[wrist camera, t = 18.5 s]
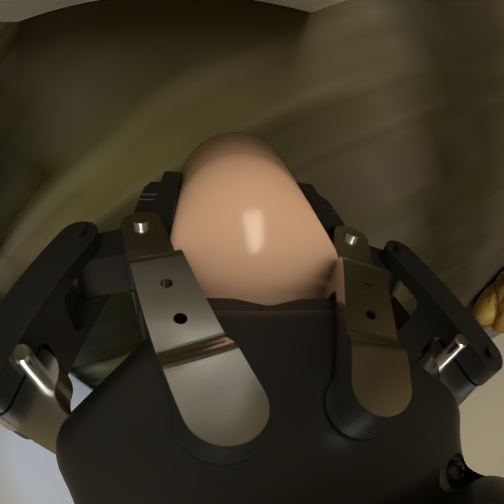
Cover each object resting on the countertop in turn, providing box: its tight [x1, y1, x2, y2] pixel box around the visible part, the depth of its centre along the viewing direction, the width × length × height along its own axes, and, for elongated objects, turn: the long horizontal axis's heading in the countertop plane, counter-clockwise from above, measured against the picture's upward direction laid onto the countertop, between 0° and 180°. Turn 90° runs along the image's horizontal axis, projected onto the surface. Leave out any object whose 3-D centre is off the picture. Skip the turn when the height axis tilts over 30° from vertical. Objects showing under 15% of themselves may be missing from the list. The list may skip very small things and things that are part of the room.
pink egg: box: [170, 133, 338, 305], centre depth 11 cm, size 5×5×7 cm
